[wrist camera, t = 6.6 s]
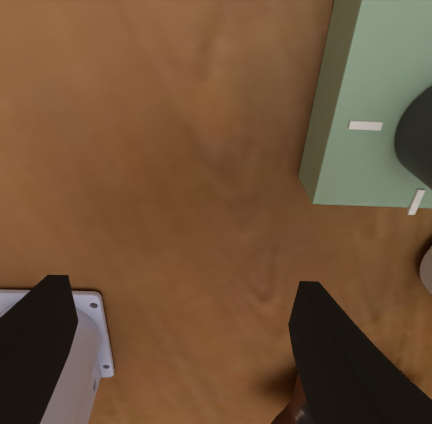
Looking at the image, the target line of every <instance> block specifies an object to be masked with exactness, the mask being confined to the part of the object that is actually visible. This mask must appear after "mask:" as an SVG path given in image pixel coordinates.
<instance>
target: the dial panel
mask: <svg viewBox="0 0 432 424" xmlns="http://www.w3.org/2000/svg"><path fill="white" fill-rule="evenodd" d="M431 86H432V0H334V5H333V10H332V15H331V20H330V24H329V29H328V34H327V39H326V44H325V49H324V54H323V58H322V63H321V68H320V73H319V78H318V83H317V88H316V93H315V97H314V102H313V107H312V112H311V117H310V122H309V127H308V132H307V136H306V141H305V146H304V151H303V156H302V161H301V166H300V171H299V175H298V178H299V180H300V182H301V183H302V185H303V187H304V189H305V191H306V193H307V195H308V197H309V198H310V200H311V202H312V204H322V205H351V206H380V207H409V208H408V210H407V214H408V215H415V213H416V211H417V209H418V208H432V190H431V189H430V188H429V187H428V186H426V185H425V184H424V183H423V182H422V181H420V180H419V179H418V178H417V177H415V176H414V175H413V174H412V173H411V172H409V171H408V170H407V169H406V168H405V167H403V165H402V164H401V163H400V161H399V159H398V158H397V155H396V150H395V136H396V131H397V127H398V125H399V122H400V120H401V118H402V116H403V115H404V113H405V112H406V110H407V109H408V107H409V106H410V105H411V104H412V102H413V101H414V100H415V99H416V98H417V97H418V96H419V95H421V94H422V93H423V92H424V91H425V90H427V89H428V88H430V87H431Z"/></svg>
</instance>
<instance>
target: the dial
mask: <svg viewBox="0 0 432 424" xmlns="http://www.w3.org/2000/svg"><path fill="white" fill-rule="evenodd" d="M395 150H396V155H397V158H398V159H399V161H400V163H401V164H402V165H403V167H405V168H406V169H407V170H408V171H409V172H411V173H412V174H413V175H414V176H415V177H417V178H418V179H419V180H420V181H422V182H423V183H424V184H425V185H426V186H428V187H429V188H430V189H431V190H432V86H431V87H430V88H428V89H427V90H425V91H424V92H423V93H422V94H421V95H419V96H418V97H417V98H416V99H415V100H414V101H413V102H412V104H411V105H410V106H409V107H408V109H407V110H406V112H405V113H404V115H403V116H402V118H401V120H400V122H399V125H398V127H397V131H396V136H395Z"/></svg>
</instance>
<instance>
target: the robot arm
mask: <svg viewBox="0 0 432 424" xmlns="http://www.w3.org/2000/svg"><path fill="white" fill-rule="evenodd" d="M94 303H96V304H94ZM288 325H289V331H290V338H291V344H292V349H293V355H294V359H295V362H296V366H297V369H298V373H299V376H300V380H301V383H302V387H303V390H304V393H305V397H306V400H307V404H308V407H309V410H310V414H311V417H312V421H313V424H432V400H431V399H430V398H429V397H428V396H427V395H426V394H425V393H424V392H422V391H421V390H420V389H419V388H418V387H417V386H416V385H415V384H413V383H412V382H411V381H410V380H409V379H408V378H407V377H406V376H405V375H404V374H403V373H402V372H401V371H399V370H398V369H397V368H396V367H395V366H394V365H393V364H392V363H391V362H390V361H389V360H388V359H387V358H386V357H385V356H384V355H383V354H382V353H381V352H380V351H379V349H378V348H377V347H376V346H375V345H374V344H373V343H372V342H371V341H370V340H369V339H368V338H367V337H366V336H365V334H364V333H363V332H362V331H361V330H360V329H359V328H358V327H357V326H356V325H355V323H354V322H353V321H352V320H351V319H350V318H349V317H348V315H347V314H346V313H345V312H344V311H343V310H342V308H341V307H340V306H339V305H338V304H337V303H336V301H335V300H334V299H333V298H332V297H331V295H330V294H329V293H328V292H327V291H326V290H325V288H324V287H323V286H322V285H321V284H320V283H319V282H313V281H300V282H299V286H298V290H297V294H296V298H295V301H294V305H293V309H292V313H291V317H290V321H289V324H288ZM114 372H115V369H114V363H113V358H112V352H111V347H110V341H109V335H108V330H107V324H106V319H105V313H104V308H103V302H102V297H101V295H100V294H99V293H98V292H94V291H72V290H71V286H70V281H69V277H68V275H47V276H46V277H45V278H44V279H43V280H41V281H40V282H39V283H38V284H37V285H36V286H35V287H34V288H32V289H31V290H2V289H0V424H88V421H89V418H90V414H91V411H92V407H93V404H94V400H95V397H96V393H97V390H98V386H99V382H100V379H101V377H112V376H113V375H114Z"/></svg>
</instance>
